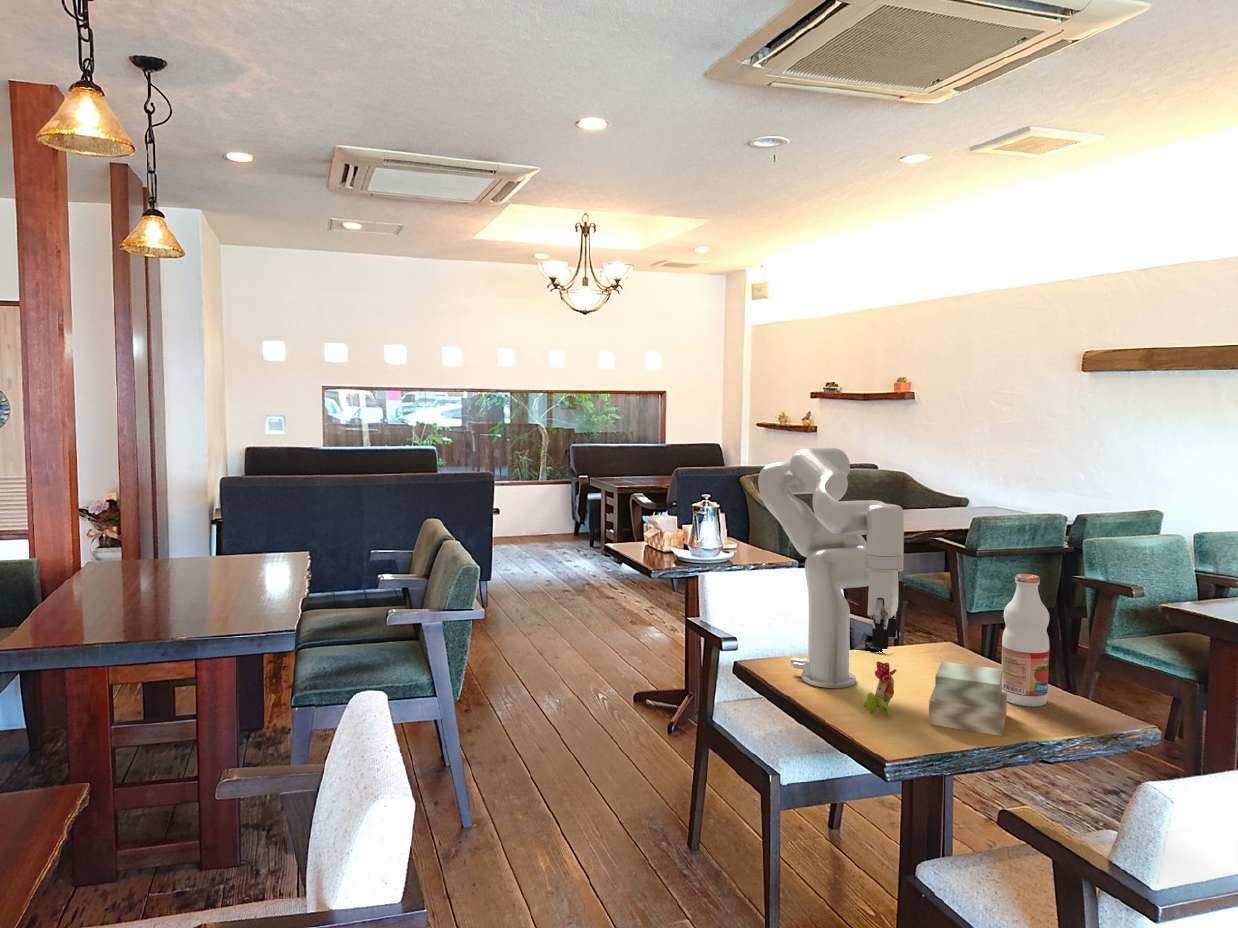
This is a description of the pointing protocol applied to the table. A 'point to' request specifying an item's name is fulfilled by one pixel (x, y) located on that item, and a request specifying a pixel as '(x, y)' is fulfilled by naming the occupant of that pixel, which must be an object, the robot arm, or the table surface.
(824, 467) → the robot arm
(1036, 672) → the fruit juice
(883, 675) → the bird rattle
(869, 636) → the dark grey rounded block
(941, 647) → the table surface
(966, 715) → the striped stacked block
